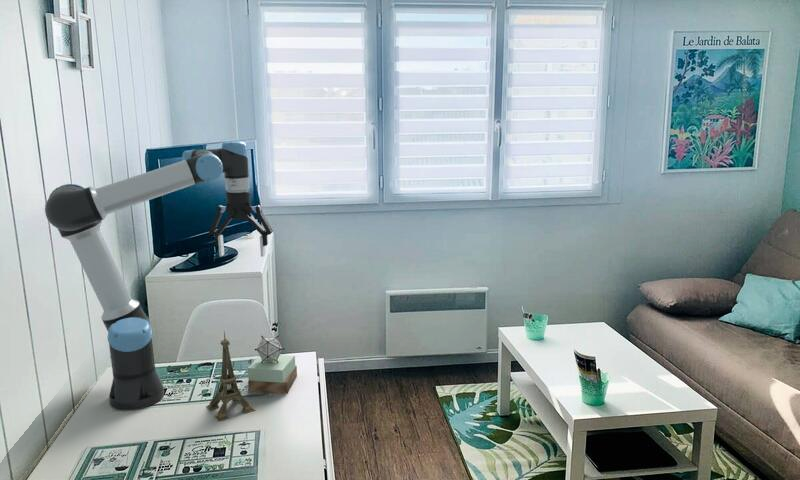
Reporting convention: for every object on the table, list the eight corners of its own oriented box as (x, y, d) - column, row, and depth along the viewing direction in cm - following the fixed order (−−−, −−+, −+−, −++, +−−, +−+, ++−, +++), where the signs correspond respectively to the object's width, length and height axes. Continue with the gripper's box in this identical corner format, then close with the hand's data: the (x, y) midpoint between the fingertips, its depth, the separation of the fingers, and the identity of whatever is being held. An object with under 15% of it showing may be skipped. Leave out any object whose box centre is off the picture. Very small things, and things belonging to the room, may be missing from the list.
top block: (248, 380, 197) (247, 368, 196) (262, 365, 208) (261, 353, 207) (283, 382, 195) (282, 370, 194) (295, 367, 206) (294, 355, 205)
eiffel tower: (241, 396, 195) (235, 317, 189) (254, 410, 186) (249, 328, 180) (206, 406, 189) (199, 325, 183) (218, 421, 180) (211, 336, 175)
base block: (248, 393, 197) (248, 381, 196) (260, 376, 209) (259, 364, 208) (287, 394, 196) (287, 382, 195) (297, 377, 208) (296, 365, 207)
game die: (275, 370, 203) (292, 342, 204) (271, 371, 195) (289, 342, 196) (251, 355, 204) (268, 327, 205) (245, 356, 195) (263, 327, 196)
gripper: (195, 192, 204) (200, 258, 208) (273, 192, 202) (277, 258, 207) (203, 188, 211) (208, 252, 216) (279, 188, 209) (283, 252, 214)
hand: (242, 255), depth 211 cm, fingers open, 13 cm apart
